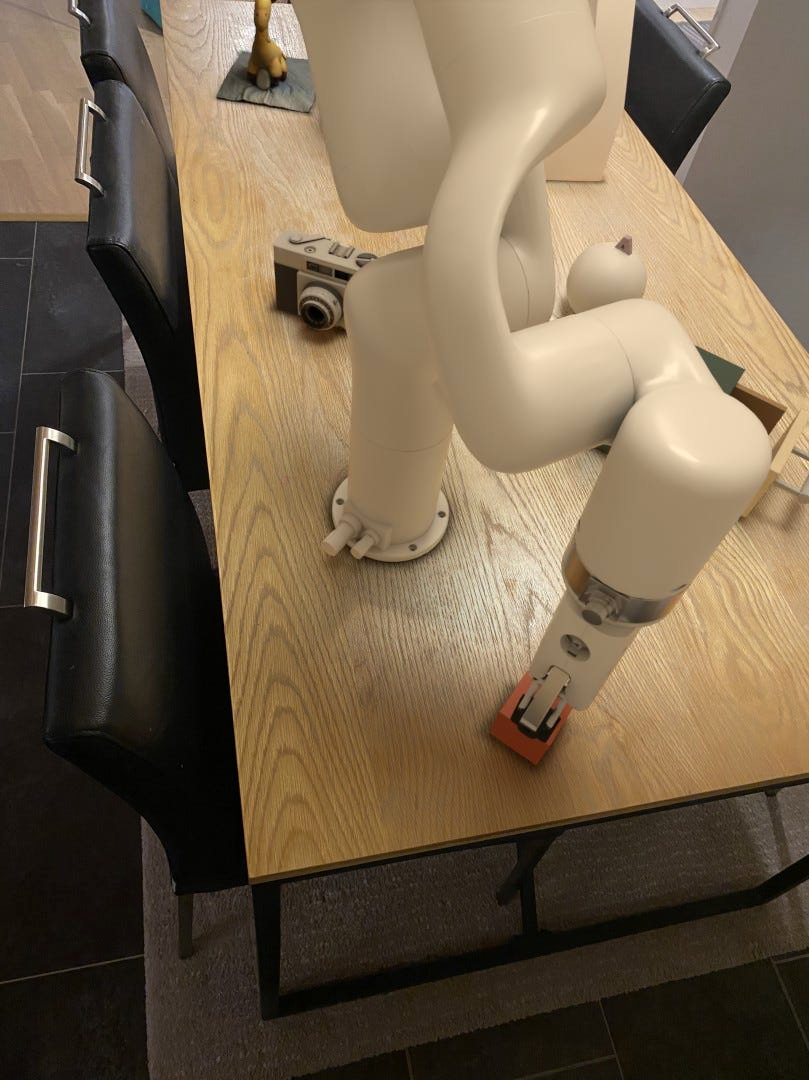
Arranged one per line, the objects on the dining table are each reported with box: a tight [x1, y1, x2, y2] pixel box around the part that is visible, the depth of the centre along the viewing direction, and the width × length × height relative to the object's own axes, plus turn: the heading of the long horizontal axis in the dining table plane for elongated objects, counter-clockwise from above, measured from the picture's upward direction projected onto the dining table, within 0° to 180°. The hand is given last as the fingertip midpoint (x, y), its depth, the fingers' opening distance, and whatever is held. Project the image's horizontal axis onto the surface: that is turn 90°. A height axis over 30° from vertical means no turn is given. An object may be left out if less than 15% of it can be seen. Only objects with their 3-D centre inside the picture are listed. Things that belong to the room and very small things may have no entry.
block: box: [489, 669, 574, 766], centre depth 68 cm, size 5×5×5 cm
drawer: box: [729, 382, 809, 518], centre depth 86 cm, size 18×11×8 cm, turn 55°
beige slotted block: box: [544, 0, 636, 182], centre depth 120 cm, size 19×15×25 cm
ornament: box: [565, 234, 648, 314], centre depth 100 cm, size 10×10×12 cm
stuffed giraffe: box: [215, 0, 316, 113], centre depth 129 cm, size 16×18×16 cm
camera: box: [272, 227, 383, 331], centre depth 95 cm, size 14×8×10 cm, turn 70°
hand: (558, 682), depth 61 cm, fingers open, 9 cm apart
